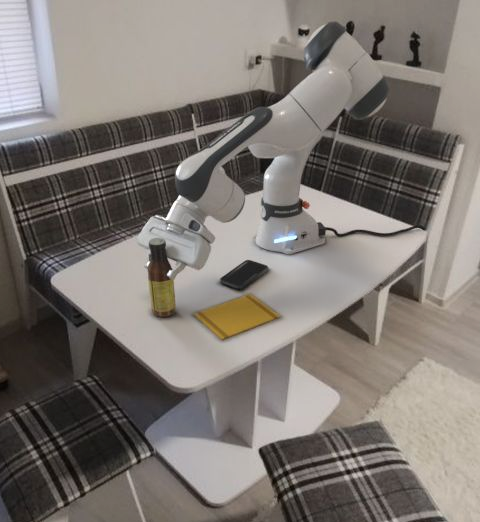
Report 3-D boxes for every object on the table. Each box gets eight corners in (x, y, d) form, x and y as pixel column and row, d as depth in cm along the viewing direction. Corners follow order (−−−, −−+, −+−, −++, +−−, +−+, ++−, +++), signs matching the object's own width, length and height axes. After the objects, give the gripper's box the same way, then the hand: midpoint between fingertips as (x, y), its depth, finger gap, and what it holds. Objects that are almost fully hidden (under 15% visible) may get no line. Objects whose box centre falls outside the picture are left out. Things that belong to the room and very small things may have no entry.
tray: (250, 295, 143) (250, 293, 143) (280, 317, 134) (280, 315, 134) (194, 315, 135) (193, 313, 135) (221, 340, 126) (221, 338, 126)
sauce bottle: (180, 311, 136) (177, 241, 124) (163, 321, 133) (158, 250, 120) (163, 301, 140) (159, 233, 128) (145, 311, 136) (139, 241, 124)
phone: (218, 279, 147) (247, 259, 157) (218, 283, 148) (247, 262, 158) (242, 288, 144) (269, 266, 153) (241, 291, 144) (269, 269, 154)
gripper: (146, 207, 131) (121, 256, 131) (209, 229, 121) (182, 282, 121) (159, 218, 137) (136, 265, 137) (221, 240, 127) (195, 291, 127)
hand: (158, 273), depth 129 cm, fingers closed on sauce bottle, 6 cm apart
